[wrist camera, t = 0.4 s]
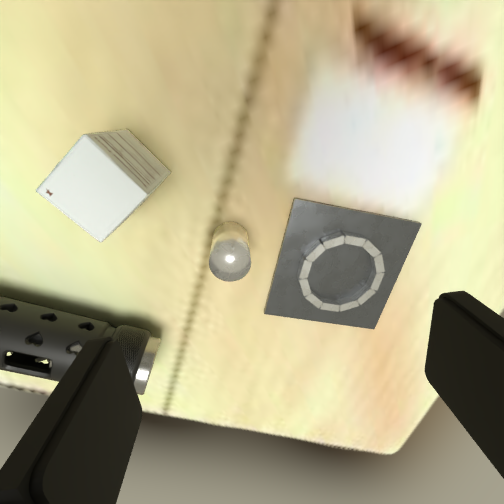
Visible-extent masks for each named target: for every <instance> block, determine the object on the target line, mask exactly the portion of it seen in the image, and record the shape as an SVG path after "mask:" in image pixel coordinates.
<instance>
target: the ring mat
mask: <svg viewBox="0 0 504 504" xmlns="http://www.w3.org/2000/svg"><path fill="white" fill-rule="evenodd" d="M421 224H422V223H420V222H416V221H410V220H405V219H400V218H395V217H390V216H385V215H380V214H374V213H369V212H364V211H359V210H354V209H349V208H344V207H339V206H333V205H328V204H323V203H318V202H313V201H308V200H303V199H298V198H294V200H293V204H292V208H291V212H290V215H289V219H288V223H287V227H286V230H285V234H284V238H283V242H282V245H281V249H280V253H279V257H278V260H277V264H276V268H275V272H274V276H273V279H272V283H271V287H270V291H269V294H268V298H267V302H266V306H265V309H264V314H268V315H276V316H283V317H290V318H297V319H304V320H311V321H318V322H326V323H333V324H340V325H347V326H354V327H361V328H368V329H375V326H376V324H377V322H378V320H379V318H380V315H381V313H382V311H383V309H384V306H385V304H386V302H387V300H388V298H389V295H390V293H391V291H392V289H393V286H394V284H395V282H396V280H397V278H398V275H399V273H400V271H401V269H402V266H403V264H404V262H405V260H406V258H407V255H408V253H409V251H410V249H411V246H412V244H413V242H414V240H415V238H416V235H417V233H418V231H419V229H420V226H421Z"/></svg>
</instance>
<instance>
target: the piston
mask: <svg viewBox="0 0 504 504" xmlns="http://www.w3.org/2000/svg"><path fill="white" fill-rule="evenodd" d="M209 266H210V270H211V271H212V273H213V274H214V275H215V276H216V277H217V278H219V279H221V280H223V281H237V280H239V279H241V278H243V277H244V276H245V275H246V274H247V273H248V271H249V270H250V267H251V258H250V250H249V242H248V235H247V232H246V230H245V229H244V227H242V226H241V225H240V224H238V223H235V222H226V223H223V224H221V225H220V226H218V227H217V228H216V230H215V232H214V234H213V240H212V246H211V252H210V259H209Z"/></svg>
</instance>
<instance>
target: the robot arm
mask: <svg viewBox="0 0 504 504" xmlns="http://www.w3.org/2000/svg"><path fill="white" fill-rule="evenodd" d="M425 374H426V377H427V379H428V381H429V383H430V384H431V385H432V386H433V388H434V389H435V390H436V392H437V393H438V394H439V396H440V397H441V398H442V399H443V401H444V402H445V403H446V405H447V406H448V407H449V408H450V409H451V411H452V412H453V413H454V415H455V416H456V417H457V419H458V420H459V421H460V423H461V424H462V425H463V426H464V428H465V429H466V431H467V432H468V433H469V434H470V436H471V437H472V438H473V440H474V441H475V442H476V443H477V445H478V446H479V447H480V449H481V450H482V451H483V453H484V454H485V455H486V456H487V458H488V459H489V460H490V462H491V463H492V464H493V465H494V467H495V468H496V469H497V471H498V472H499V473H500V474H501V476H502V477H503V478H504V318H502V317H501V316H500V315H498V314H497V313H495V312H494V311H492V310H491V309H490V308H488V307H487V306H485V305H484V304H483V303H481V302H480V301H478V300H477V299H476V298H474V297H473V296H471V295H470V294H468V293H467V292H465V291H457V292H449V293H443V294H441V295H440V296H439V299H437V300H435V302H434V307H433V314H432V321H431V328H430V335H429V342H428V349H427V356H426V363H425ZM141 419H142V407H141V404H140V401H139V398H138V395H137V392H136V389H135V386H134V383H133V381H132V378H131V375H130V372H129V369H128V366H127V363H126V360H125V357H124V354H123V351H122V349H121V346H120V343H119V342H118V341H114V340H113V339H112V338H111V337H101V338H94V339H89V340H88V341H87V342H86V343H85V344H84V346H83V347H82V349H81V350H80V352H79V353H78V355H77V356H76V358H75V359H74V361H73V362H72V364H71V365H70V367H69V368H68V370H67V371H66V373H65V374H64V376H63V377H62V379H61V380H60V382H59V383H58V385H57V386H56V388H55V389H54V391H53V392H52V394H51V395H50V397H49V398H48V400H47V401H46V402H45V404H44V406H43V407H42V409H41V410H40V412H39V413H38V414H37V416H36V417H35V419H34V421H33V422H32V423H31V425H30V426H29V428H28V429H27V431H26V432H25V434H24V435H23V437H22V438H21V440H20V441H19V443H18V444H17V446H16V447H15V449H14V450H13V452H12V453H11V455H10V456H9V458H8V459H7V461H6V462H5V464H4V465H3V467H2V468H1V470H0V504H116V502H117V498H118V495H119V492H120V488H121V485H122V482H123V479H124V475H125V472H126V469H127V465H128V462H129V458H130V456H131V452H132V449H133V445H134V442H135V439H136V436H137V433H138V429H139V426H140V423H141Z"/></svg>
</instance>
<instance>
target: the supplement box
mask: <svg viewBox="0 0 504 504" xmlns="http://www.w3.org/2000/svg"><path fill="white" fill-rule="evenodd" d="M170 174H171V171H170V170H168V169H167V168H166V167H165V166H164V165H163V164H162V163H161V162H160V161H159V160H158V159H157V158H156V157H155V156H154V155H153V154H152V153H151V152H150V151H149V150H148V149H147V148H146V147H145V146H144V145H143V144H142V143H141V142H140V141H139V140H138V139H137V138H136V137H135V136H134V135H133V134H132V133H131V132H130V131H129V130H128V129H124V130H116V131H107V132H99V133H90V134H84V135H82V136H81V137H80V139H79V140H78V141H77V142H76V143H75V144H74V146H73V147H72V148H71V149H70V150H69V152H68V153H67V154H66V155H65V156H64V157H63V159H62V160H61V161H60V162H59V163H58V164H57V165H56V166H55V168H54V169H53V170H52V172H51V173H50V174H49V175H48V176H47V177H46V179H45V180H44V181H43V182H42V183H41V184H40V186H39V187H38V188H37V189H36V192H37V193H39V194H40V195H41V196H43V197H44V198H45V199H46V200H48V201H49V202H50V203H51V204H53V205H54V206H55V207H56V208H58V209H59V210H60V211H61V212H63V213H64V214H65V215H66V216H68V217H69V218H70V219H71V220H73V221H74V222H75V223H76V224H78V225H79V226H80V227H81V228H83V229H84V230H85V231H86V232H87V233H89V234H90V235H91V236H93V237H94V238H95V239H96V240H98V241H99V242H102V241H104V240H105V239H106V238H107V237H108V236H109V235H110V234H111V233H112V232H114V231H115V230H116V229H117V228H118V227H119V226H120V225H121V224H122V223H123V222H124V221H125V220H126V219H127V218H128V217H129V216H130V215H131V214H132V213H133V212H134V211H135V210H136V209H137V208H138V207H139V206H140V205H141V204H142V203H143V202H144V201H145V200H146V199H147V198H148V197H149V196H150V195H151V194H152V193H153V192H154V191H155V190H156V188H157V187H158V186H159V185H160V184H161V183H162V182H163V181H164V180H165V179H166V178H167V177H168V176H169V175H170Z"/></svg>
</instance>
